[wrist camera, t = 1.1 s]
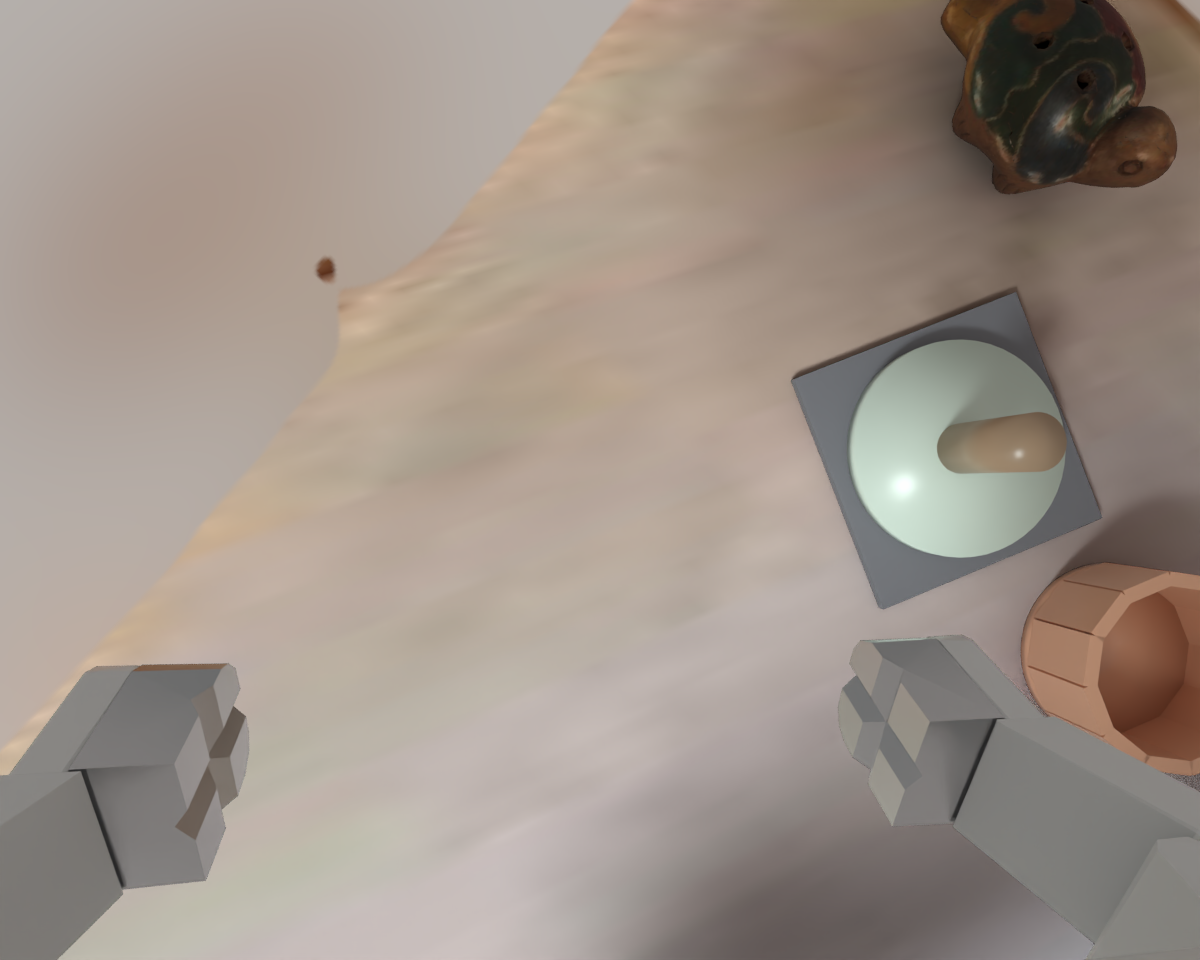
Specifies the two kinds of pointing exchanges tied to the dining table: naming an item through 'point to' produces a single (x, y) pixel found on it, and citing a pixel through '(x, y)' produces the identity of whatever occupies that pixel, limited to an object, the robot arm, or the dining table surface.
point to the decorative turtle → (1056, 94)
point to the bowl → (1121, 660)
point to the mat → (828, 417)
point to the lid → (956, 448)
